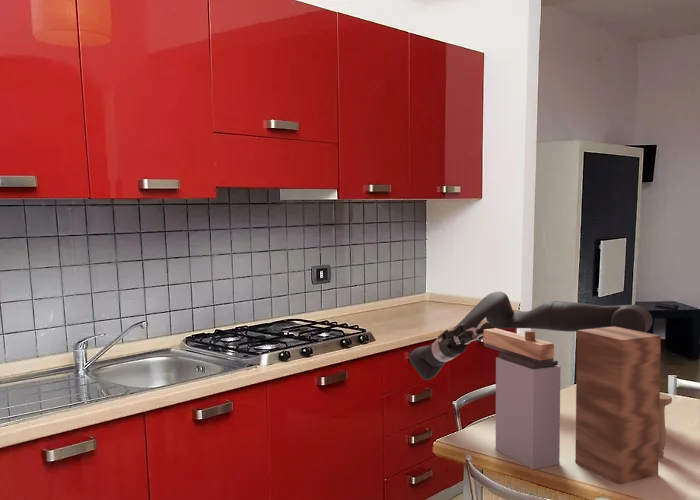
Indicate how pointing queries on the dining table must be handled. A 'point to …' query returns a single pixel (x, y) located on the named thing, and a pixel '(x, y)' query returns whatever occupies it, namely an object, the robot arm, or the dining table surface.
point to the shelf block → (618, 402)
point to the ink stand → (528, 410)
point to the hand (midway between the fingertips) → (476, 326)
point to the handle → (662, 421)
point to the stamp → (519, 345)
